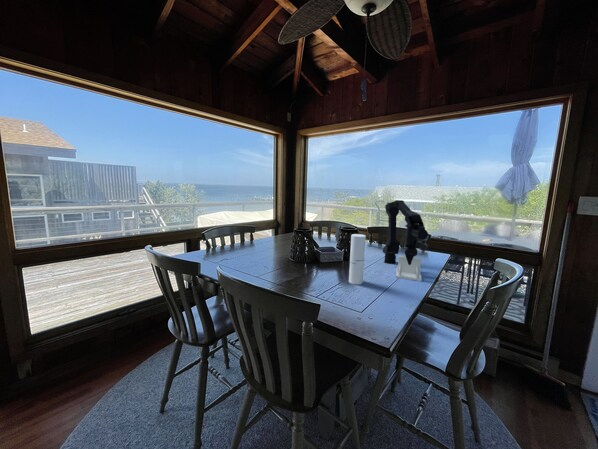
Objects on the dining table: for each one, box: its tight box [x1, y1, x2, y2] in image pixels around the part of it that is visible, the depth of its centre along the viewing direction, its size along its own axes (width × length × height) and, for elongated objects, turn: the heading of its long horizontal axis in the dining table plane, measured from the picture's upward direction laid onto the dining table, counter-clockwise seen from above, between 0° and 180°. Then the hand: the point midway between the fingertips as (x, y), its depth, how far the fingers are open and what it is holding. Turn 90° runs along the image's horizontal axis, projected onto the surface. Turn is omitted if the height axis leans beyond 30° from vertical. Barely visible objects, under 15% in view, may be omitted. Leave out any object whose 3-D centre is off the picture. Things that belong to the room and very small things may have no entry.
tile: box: [397, 255, 422, 274], centre depth 146 cm, size 12×2×9 cm, turn 68°
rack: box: [395, 265, 423, 282], centre depth 147 cm, size 13×18×6 cm
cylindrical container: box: [348, 233, 367, 285], centre depth 132 cm, size 7×7×25 cm
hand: (409, 262), depth 146 cm, fingers open, 9 cm apart
